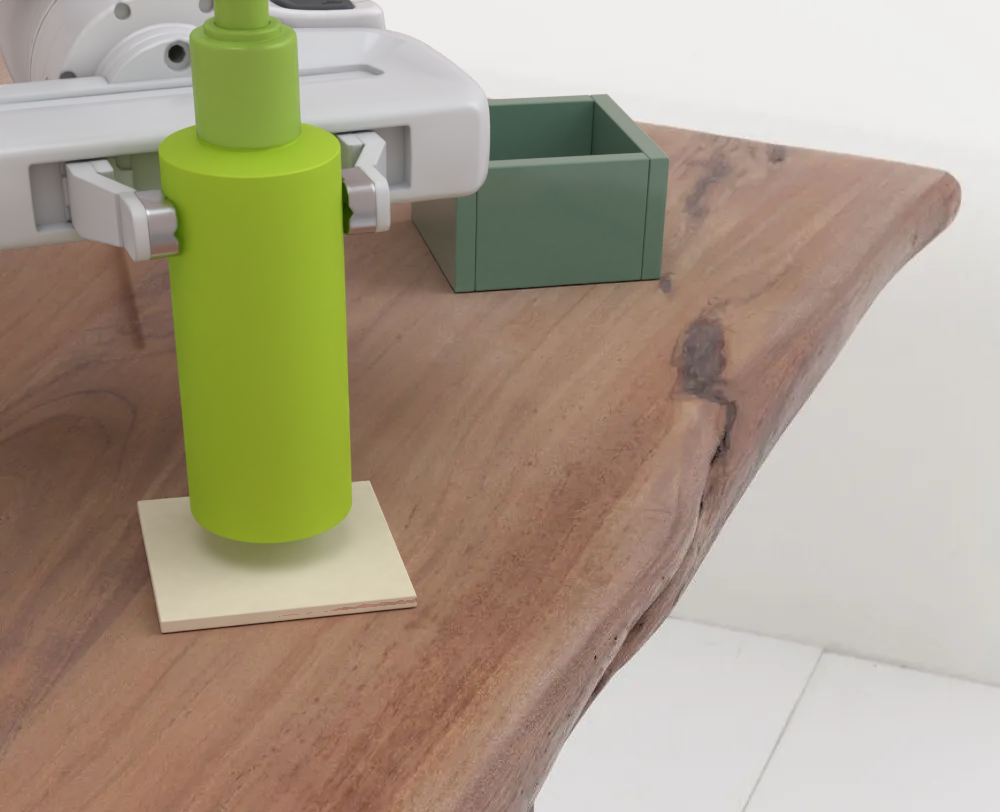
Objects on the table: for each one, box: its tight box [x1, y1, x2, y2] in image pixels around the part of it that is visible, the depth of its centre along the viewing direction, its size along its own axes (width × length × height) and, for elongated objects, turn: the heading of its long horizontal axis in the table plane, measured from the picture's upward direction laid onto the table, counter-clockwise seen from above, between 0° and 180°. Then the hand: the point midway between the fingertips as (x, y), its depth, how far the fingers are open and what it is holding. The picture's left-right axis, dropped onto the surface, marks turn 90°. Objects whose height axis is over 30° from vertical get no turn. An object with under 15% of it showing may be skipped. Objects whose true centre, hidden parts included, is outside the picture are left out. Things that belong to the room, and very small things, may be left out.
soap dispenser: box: [158, 0, 353, 543], centre depth 62 cm, size 6×7×20 cm
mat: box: [136, 480, 418, 634], centre depth 69 cm, size 9×9×1 cm
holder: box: [410, 93, 670, 293], centre depth 94 cm, size 10×10×6 cm
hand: (266, 223), depth 61 cm, fingers closed on soap dispenser, 6 cm apart
